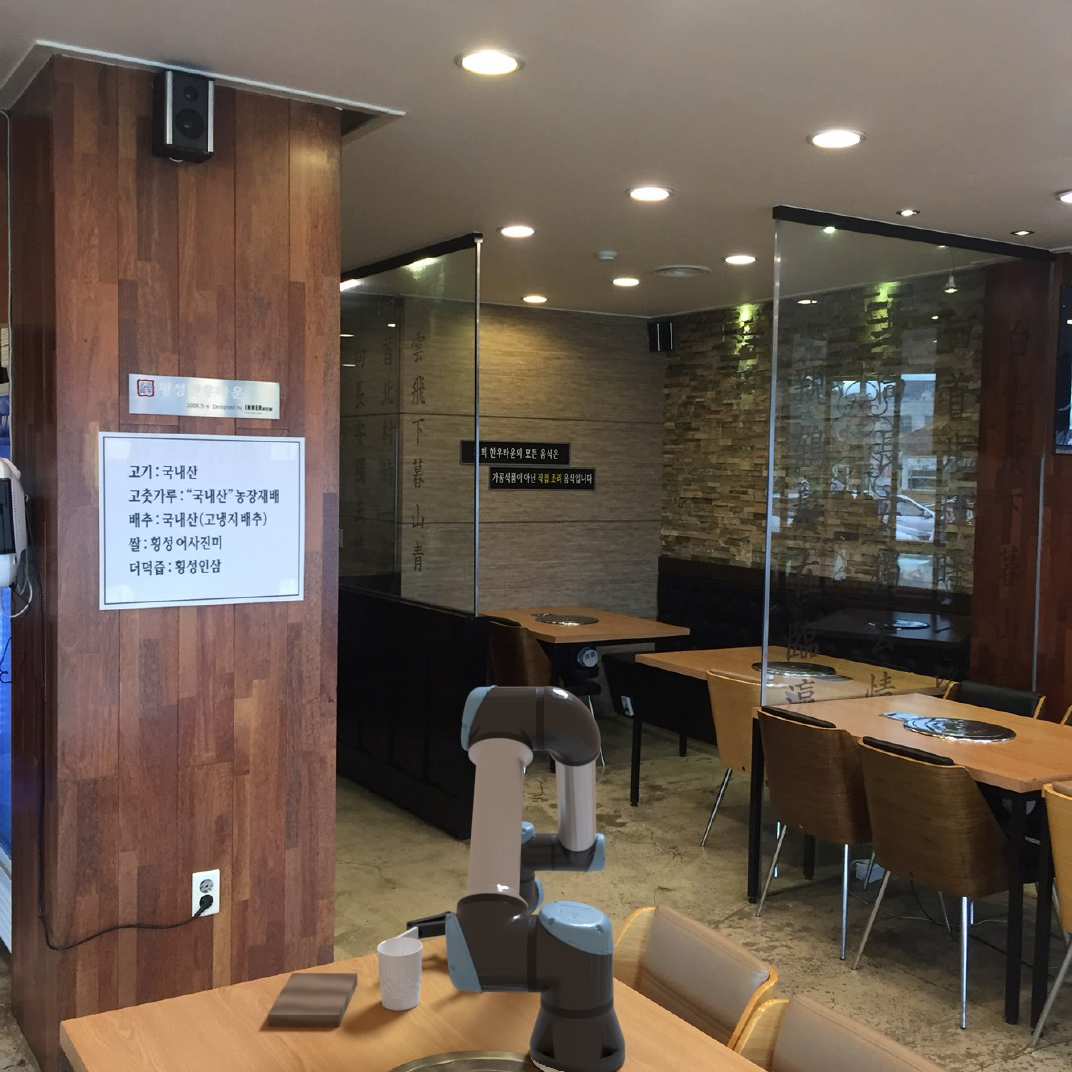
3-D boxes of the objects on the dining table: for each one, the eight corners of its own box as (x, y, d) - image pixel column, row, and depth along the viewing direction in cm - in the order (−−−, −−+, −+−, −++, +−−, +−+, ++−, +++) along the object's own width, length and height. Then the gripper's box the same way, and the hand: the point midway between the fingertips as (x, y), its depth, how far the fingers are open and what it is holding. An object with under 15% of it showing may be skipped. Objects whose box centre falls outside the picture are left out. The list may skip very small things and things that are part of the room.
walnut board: (339, 1026, 184) (338, 1014, 184) (268, 1026, 185) (268, 1014, 185) (357, 984, 200) (357, 973, 200) (292, 983, 201) (292, 973, 201)
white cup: (415, 1014, 188) (414, 957, 188) (371, 1010, 190) (370, 953, 190) (428, 994, 196) (428, 938, 196) (386, 990, 198) (386, 935, 197)
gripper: (543, 947, 211) (480, 990, 193) (439, 921, 224) (371, 959, 206) (543, 908, 210) (479, 948, 192) (439, 885, 223) (370, 920, 206)
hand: (423, 954), depth 199 cm, fingers open, 13 cm apart
